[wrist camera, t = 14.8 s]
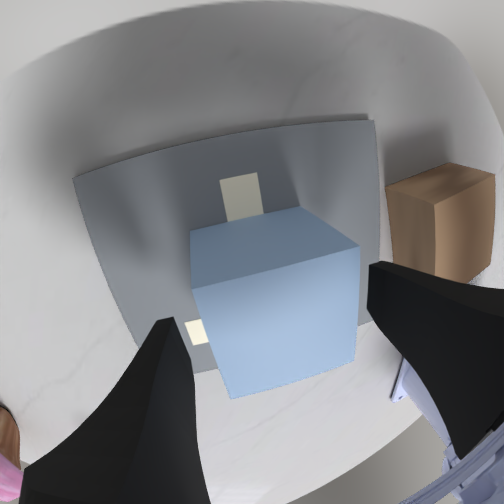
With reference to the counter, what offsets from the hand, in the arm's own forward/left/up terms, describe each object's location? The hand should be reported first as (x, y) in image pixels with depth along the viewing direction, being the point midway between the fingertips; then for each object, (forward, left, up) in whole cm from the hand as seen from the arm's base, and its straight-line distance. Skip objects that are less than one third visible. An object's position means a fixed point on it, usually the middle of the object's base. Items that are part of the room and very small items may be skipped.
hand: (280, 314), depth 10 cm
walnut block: (-11, 0, -5) cm, 12 cm away
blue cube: (0, 0, -4) cm, 4 cm away
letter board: (0, 0, -4) cm, 4 cm away
